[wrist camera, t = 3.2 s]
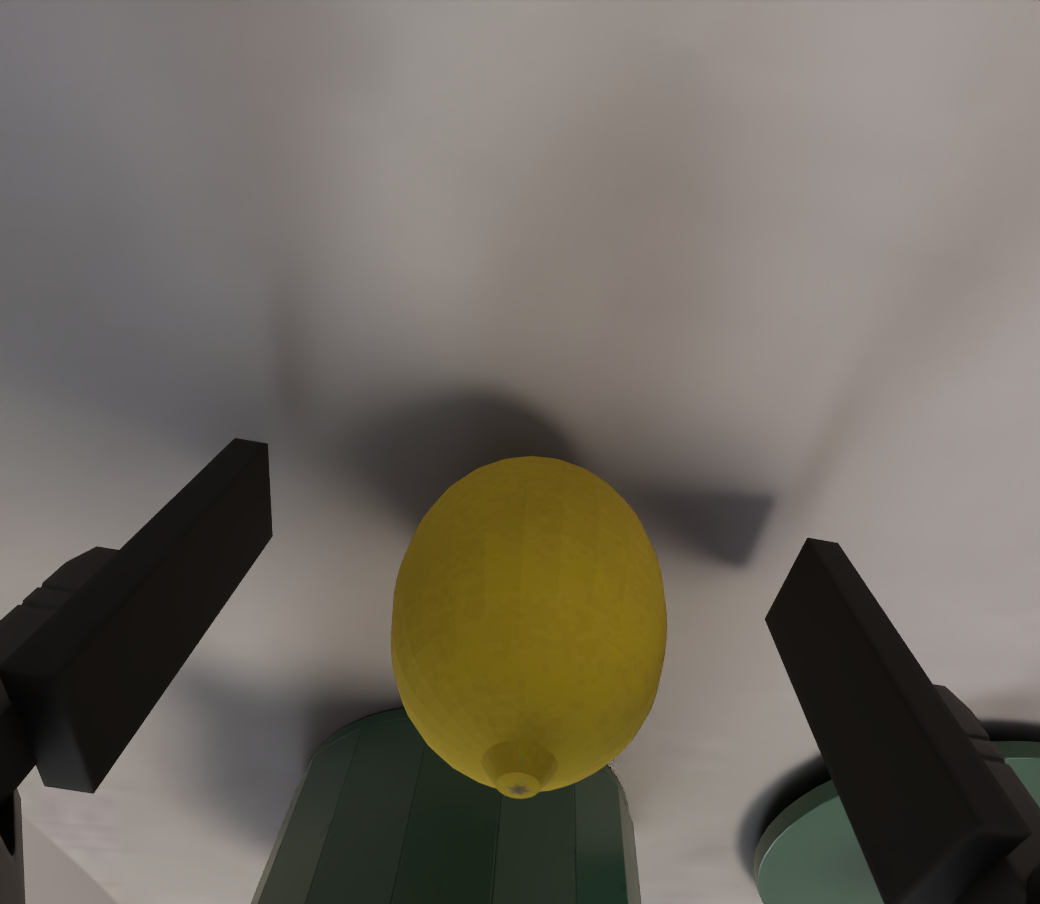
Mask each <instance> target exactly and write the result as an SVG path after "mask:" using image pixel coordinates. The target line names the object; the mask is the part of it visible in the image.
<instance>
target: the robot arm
mask: <svg viewBox="0 0 1040 904" xmlns="http://www.w3.org/2000/svg"><path fill="white" fill-rule="evenodd" d="M272 536H273V535H272V516H271V497H270V478H269V459H268V444H266V443H261V442H255V441H249V440H243V439H238V438H235V439H233V440H232V441H231V442H230V443H229V444H228V445H227V446H226V447H225V448H224V449H223V450H222V451H221V452H220V453H219V454H218V455H217V456H216V457H215V458H214V459H213V460H212V461H211V462H210V463H209V464H208V465H207V466H206V467H205V468H204V469H202V470H201V471H200V472H199V473H198V474H197V475H196V476H195V477H194V478H193V479H192V480H191V481H190V482H189V483H188V484H187V485H186V486H185V487H184V488H183V489H182V490H181V491H180V492H179V493H178V494H177V495H176V496H175V497H174V498H173V499H171V500H170V501H169V502H168V503H167V504H166V505H165V506H164V507H163V508H162V509H161V510H160V511H159V512H158V513H157V514H156V515H155V516H154V517H153V518H152V519H151V520H150V521H149V522H148V523H147V524H146V525H145V526H144V527H143V528H142V529H140V530H139V531H138V532H137V533H136V534H135V535H134V536H133V537H132V538H131V539H130V540H129V541H128V542H127V543H126V544H125V545H124V546H123V547H122V548H121V549H120V550H115V549H109V548H103V547H95V548H93V549H91V550H89V551H87V552H85V553H83V554H81V555H79V556H77V557H75V558H73V559H71V560H70V561H68V562H66V563H65V564H63V565H62V566H61V567H60V568H59V569H58V570H57V571H56V572H54V573H53V574H52V575H51V576H50V577H49V578H48V579H47V580H45V581H44V582H43V583H42V587H41V588H39V587H38V588H36V589H35V590H34V591H33V592H32V593H31V594H30V595H29V596H27V597H26V598H25V599H24V600H23V603H22V605H17V606H16V607H15V608H14V609H13V610H12V611H10V612H9V613H8V614H7V615H6V616H5V617H4V618H3V619H1V620H0V904H25V889H24V888H25V887H24V864H23V839H22V815H21V798H20V795H19V793H18V790H17V787H18V786H19V785H20V783H21V782H22V781H23V780H24V778H25V777H26V776H27V775H28V774H29V772H30V771H31V770H32V769H33V767H34V766H35V765H36V766H37V769H38V771H39V774H40V776H41V779H42V781H43V783H44V786H47V787H54V788H60V789H67V790H73V791H80V792H87V793H93V794H94V792H95V791H96V789H97V788H98V786H99V785H100V784H101V782H102V781H103V779H104V778H105V776H106V775H107V773H108V772H109V771H110V769H111V768H112V766H113V765H114V763H115V762H116V760H117V759H118V758H119V756H120V755H121V753H122V752H123V750H124V749H125V748H126V746H127V745H128V743H129V742H130V740H131V739H132V737H133V736H134V735H135V733H136V732H137V730H138V729H139V727H140V726H141V725H142V723H143V722H144V720H145V719H146V717H147V716H148V714H149V713H150V712H151V710H152V709H153V707H154V706H155V704H156V703H157V702H158V700H159V699H160V697H161V696H162V694H163V693H164V691H165V690H166V689H167V687H168V686H169V684H170V683H171V681H172V680H173V678H174V677H175V676H176V674H177V673H178V671H179V670H180V668H181V667H182V666H183V664H184V663H185V661H186V660H187V658H188V657H189V655H190V654H191V653H192V651H193V650H194V648H195V647H196V645H197V644H198V643H199V641H200V640H201V638H202V637H203V635H204V634H205V632H206V631H207V630H208V628H209V627H210V625H211V624H212V622H213V621H214V620H215V618H216V617H217V615H218V614H219V612H220V611H221V609H222V608H223V607H224V605H225V604H226V602H227V601H228V599H229V598H230V596H231V595H232V594H233V592H234V591H235V589H236V588H237V586H238V585H239V584H240V582H241V581H242V579H243V578H244V576H245V575H246V573H247V572H248V571H249V569H250V568H251V566H252V565H253V563H254V562H255V561H256V559H257V558H258V556H259V555H260V553H261V552H262V550H263V549H264V548H265V546H266V545H267V543H268V542H269V540H270V539H271V538H272ZM765 621H766V623H767V626H768V628H769V630H770V633H771V635H772V638H773V640H774V642H775V645H776V647H777V650H778V652H779V654H780V657H781V659H782V661H783V664H784V666H785V669H786V671H787V673H788V676H789V678H790V681H791V683H792V685H793V688H794V690H795V692H796V695H797V697H798V700H799V702H800V704H801V707H802V709H803V712H804V714H805V716H806V719H807V721H808V724H809V726H810V728H811V731H812V733H813V735H814V738H815V740H816V743H817V745H818V747H819V750H820V752H821V755H822V757H823V759H824V762H825V764H826V766H827V769H828V771H829V774H830V776H831V778H832V781H833V783H834V786H835V788H836V790H837V793H838V795H839V797H840V800H841V802H842V805H843V807H844V809H845V812H846V814H847V817H848V819H849V821H850V824H851V826H852V829H853V831H854V833H855V836H856V838H857V840H858V843H859V845H860V848H861V850H862V852H863V855H864V857H865V860H866V862H867V864H868V867H869V869H870V871H871V874H872V876H873V879H874V881H875V883H876V886H877V888H878V891H879V893H880V895H881V898H882V900H883V902H884V904H1040V808H1039V806H1038V805H1037V803H1036V802H1035V800H1034V799H1033V798H1032V796H1031V795H1030V793H1029V792H1028V791H1027V789H1026V788H1025V786H1024V785H1023V783H1022V782H1021V781H1020V779H1019V778H1018V776H1017V775H1016V774H1015V772H1014V771H1013V769H1012V768H1011V766H1010V765H1009V764H1006V763H1005V758H1004V757H1003V755H1002V754H1001V752H1000V751H999V749H998V748H997V747H996V745H995V744H994V742H990V740H989V735H988V734H987V732H986V731H985V730H984V728H983V727H982V725H981V724H980V723H979V721H978V720H977V718H976V717H975V715H974V714H973V713H972V711H971V710H970V709H969V708H968V707H967V706H966V705H965V704H963V703H962V702H961V701H960V700H959V699H958V698H957V697H956V696H955V695H954V694H953V693H952V692H951V691H950V690H949V689H947V688H946V687H945V686H940V685H934V684H932V683H931V681H930V680H929V678H928V677H927V675H926V674H925V672H924V671H923V669H922V668H921V666H920V665H919V663H918V662H917V660H916V659H915V657H914V656H913V654H912V653H911V651H910V650H909V648H908V647H907V645H906V644H905V642H904V641H903V639H902V638H901V636H900V635H899V633H898V632H897V630H896V629H895V627H894V626H893V624H892V623H891V621H890V620H889V618H888V617H887V615H886V614H885V612H884V611H883V609H882V608H881V606H880V605H879V603H878V602H877V600H876V599H875V598H874V596H873V595H872V593H871V592H870V590H869V589H868V587H867V586H866V584H865V583H864V581H863V580H862V578H861V577H860V575H859V574H858V572H857V571H856V569H855V568H854V566H853V565H852V563H851V562H850V560H849V559H848V557H847V556H846V554H845V553H844V551H843V550H842V548H841V547H840V545H839V544H838V543H835V542H829V541H823V540H818V539H812V538H807V539H806V541H805V543H804V545H803V547H802V549H801V551H800V553H799V555H798V557H797V559H796V560H795V562H794V564H793V566H792V568H791V570H790V572H789V574H788V576H787V578H786V580H785V581H784V583H783V585H782V587H781V589H780V591H779V593H778V595H777V597H776V599H775V601H774V602H773V604H772V606H771V608H770V610H769V612H768V614H767V616H766V618H765Z"/></svg>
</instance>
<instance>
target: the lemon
mask: <svg viewBox="0 0 1040 904" xmlns="http://www.w3.org/2000/svg"><path fill="white" fill-rule="evenodd" d="M666 639H667V613H666V604H665V596H664V589H663V582H662V575H661V569H660V566H659V562H658V558H657V556H656V553H655V551H654V548H653V546H652V544H651V542H650V540H649V538H648V536H647V534H646V532H645V530H644V527H643V525H642V523H641V522H640V520H639V518H638V516H637V514H636V513H635V512H634V510H633V509H632V508H631V506H630V505H629V504H628V503H627V502H626V501H625V500H624V499H623V498H622V497H621V496H620V495H619V494H618V492H617V491H616V490H615V489H614V488H613V487H612V486H611V485H609V484H608V483H607V482H605V481H604V480H602V479H601V478H599V477H598V476H596V475H594V474H593V473H591V472H590V471H588V470H587V469H585V468H582V467H579V466H576V465H574V464H571V463H568V462H565V461H562V460H559V459H555V458H547V457H538V456H526V457H516V458H507V459H503V460H500V461H497V462H494V463H491V464H488V465H485V466H482V467H479V468H477V469H476V470H474V471H473V472H471V473H470V474H468V475H466V476H465V477H463V478H462V479H460V480H459V481H457V482H456V483H454V484H453V485H451V486H450V487H449V488H448V489H447V490H446V491H445V492H444V493H443V495H442V496H441V497H440V498H439V499H438V500H437V501H436V503H435V504H434V505H433V506H432V507H431V508H430V509H429V511H428V512H427V513H426V514H425V516H424V517H423V519H422V520H421V522H420V523H419V525H418V527H417V529H416V531H415V533H414V535H413V538H412V540H411V542H410V544H409V547H408V549H407V551H406V553H405V556H404V558H403V561H402V563H401V566H400V569H399V573H398V576H397V581H396V586H395V592H394V603H393V615H392V630H391V653H392V665H393V670H394V674H395V679H396V683H397V686H398V690H399V693H400V696H401V700H402V703H403V705H404V707H405V710H406V712H407V715H408V717H409V718H410V719H411V721H412V722H413V724H414V725H415V727H416V728H417V730H418V731H419V733H420V734H421V736H422V737H423V739H424V740H425V742H426V743H427V744H428V746H429V747H430V748H431V749H433V750H434V751H435V752H436V753H437V754H438V755H439V756H440V757H441V758H442V759H443V760H445V761H446V762H447V763H448V764H449V765H450V766H451V767H452V768H454V769H456V770H457V771H459V772H461V773H463V774H464V775H466V776H468V777H470V778H471V779H473V780H475V781H477V782H479V783H482V784H485V785H487V786H490V787H493V788H496V789H497V790H498V791H499V792H500V793H502V794H503V795H505V796H508V797H511V798H516V799H524V798H529V797H532V796H534V795H536V794H537V793H538V792H541V791H550V790H554V789H558V788H561V787H565V786H568V785H571V784H573V783H576V782H578V781H580V780H582V779H584V778H586V777H588V776H590V775H592V774H594V773H595V772H597V771H598V770H600V769H601V768H603V767H604V766H605V765H607V764H608V763H609V762H610V761H611V760H612V759H614V758H615V757H616V756H617V755H618V754H620V753H621V752H622V751H623V750H624V748H625V747H626V746H627V745H628V744H629V743H630V742H631V741H632V739H633V738H634V736H635V735H636V733H637V732H638V730H639V729H640V727H641V726H642V724H643V722H644V721H645V719H646V717H647V715H648V714H649V712H650V710H651V708H652V705H653V702H654V699H655V697H656V694H657V689H658V685H659V680H660V676H661V671H662V666H663V661H664V656H665V648H666Z"/></svg>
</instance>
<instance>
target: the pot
mask: <svg viewBox="0 0 1040 904" xmlns="http://www.w3.org/2000/svg"><path fill="white" fill-rule="evenodd" d="M251 904H641V896H640V886H639V877H638V867H637V857H636V848H635V838H634V828H633V822H632V820H631V817H630V815H629V810H628V803H627V800H626V796H625V792H624V790H623V788H622V786H621V785H620V783H619V781H618V779H617V777H616V776H615V775H614V773H613V772H612V771H611V769H610V768H609V767H608V766H607V765H605V766H604V767H603V768H601V769H600V770H598V771H597V772H595V773H594V774H592V775H590V776H588V777H586V778H584V779H582V780H580V781H578V782H576V783H573V784H571V785H568V786H565V787H561V788H558V789H554V790H550V791H541V792H538V793H537V794H536V795H534V796H532V797H529V798H524V799H516V798H511V797H508V796H505V795H503V794H502V793H500V792H499V791H498V790H497V789H496V788H493V787H490V786H487V785H485V784H482V783H479V782H477V781H475V780H473V779H471V778H470V777H468V776H466V775H464V774H463V773H461V772H459V771H457V770H456V769H454V768H452V767H451V766H450V765H449V764H448V763H447V762H446V761H445V760H443V759H442V758H441V757H440V756H439V755H438V754H437V753H436V752H435V751H434V750H433V749H431V748H430V747H429V746H428V744H427V743H426V742H425V740H424V739H423V737H422V736H421V734H420V733H419V731H418V730H417V728H416V727H415V725H414V724H413V722H412V721H411V719H410V718H409V717H408V715H407V712H406V710H405V708H399V709H395V710H390V711H386V712H381V713H378V714H375V715H372V716H369V717H366V718H363V719H360V720H358V721H356V722H354V723H352V724H350V725H347V726H345V727H344V728H342V729H341V730H339V731H338V732H336V733H335V734H333V735H332V736H330V737H329V738H328V739H327V740H326V741H325V742H324V743H323V744H322V745H321V746H320V747H319V748H318V749H317V750H316V752H315V753H314V755H313V756H312V758H311V759H310V761H309V764H308V766H307V769H306V771H305V774H304V775H303V777H302V779H301V781H300V783H299V784H298V786H297V788H296V790H295V793H294V795H293V798H292V801H291V803H290V806H289V808H288V811H287V813H286V816H285V818H284V821H283V823H282V826H281V828H280V831H279V833H278V836H277V839H276V841H275V844H274V846H273V849H272V851H271V854H270V856H269V859H268V861H267V864H266V866H265V869H264V871H263V874H262V876H261V879H260V882H259V884H258V887H257V889H256V892H255V894H254V897H253V899H252V902H251Z"/></svg>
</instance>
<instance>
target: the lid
mask: <svg viewBox="0 0 1040 904" xmlns="http://www.w3.org/2000/svg"><path fill="white" fill-rule="evenodd" d="M990 742H994V744H995V745H996V747H997V748H998V749H999V751H1000V752H1001V754H1002V755H1003V757H1004V758H1005V763H1006V764H1009V765H1010V766H1011V768H1012V769H1013V771H1014V772H1015V774H1016V775H1017V776H1018V778H1019V779H1020V781H1021V782H1022V783H1023V785H1024V786H1025V788H1026V789H1027V791H1028V792H1029V793H1030V795H1031V796H1032V798H1033V799H1034V800H1035V802H1036V803H1037V805H1038V806H1039V808H1040V742H1028V741H990ZM753 868H754V877H755V881H756V885H757V888H758V892H759V894H760V897H761V899H762V902H763V903H764V904H884V902H883V900H882V898H881V895H880V893H879V891H878V888H877V886H876V883H875V881H874V879H873V876H872V874H871V871H870V869H869V867H868V864H867V862H866V860H865V857H864V855H863V852H862V850H861V848H860V845H859V843H858V840H857V838H856V836H855V833H854V831H853V829H852V826H851V824H850V821H849V819H848V817H847V814H846V812H845V809H844V807H843V805H842V802H841V800H840V797H839V795H838V793H837V790H836V788H835V786H834V783H833V781H832V779H831V780H829V781H827V782H825V783H823V784H821V785H819V786H817V787H816V788H814V789H812V790H811V791H809V792H808V793H806V794H805V795H803V796H801V797H800V798H798V799H797V800H796V801H794V802H793V803H792V804H791V805H789V806H788V807H787V808H786V809H784V810H783V811H782V812H781V813H780V814H779V815H778V816H777V817H776V818H775V819H774V820H773V821H772V823H771V824H770V825H769V826H768V828H767V829H766V831H765V832H764V834H763V835H762V837H761V838H760V841H759V843H758V845H757V848H756V850H755V856H754V863H753Z"/></svg>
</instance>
